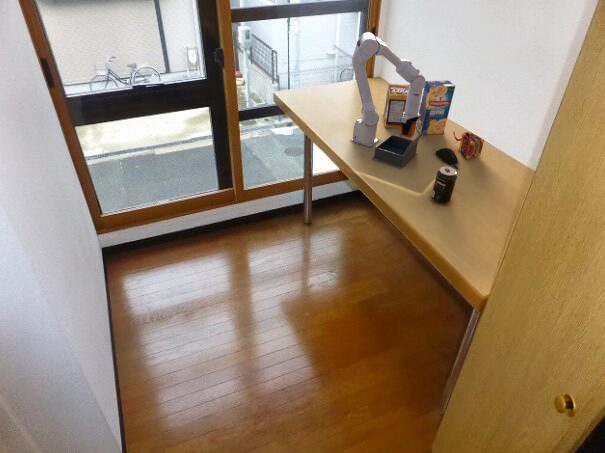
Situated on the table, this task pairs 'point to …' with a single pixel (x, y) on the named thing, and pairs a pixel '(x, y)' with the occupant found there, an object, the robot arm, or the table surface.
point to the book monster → (470, 144)
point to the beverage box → (435, 107)
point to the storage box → (394, 151)
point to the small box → (411, 131)
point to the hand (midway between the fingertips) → (407, 132)
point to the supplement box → (395, 105)
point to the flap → (414, 142)
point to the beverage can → (444, 185)
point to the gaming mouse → (447, 156)
